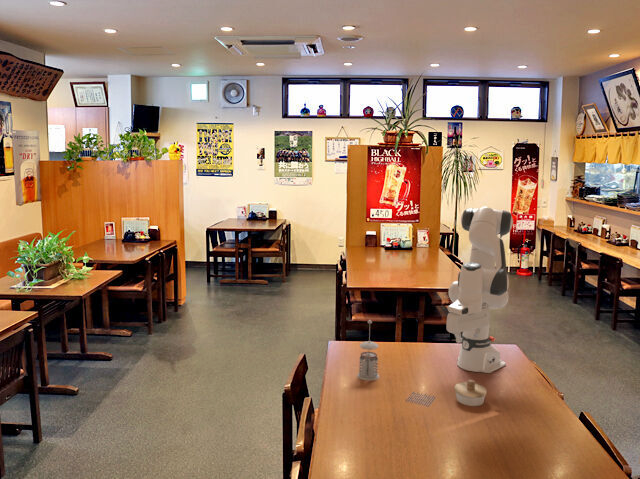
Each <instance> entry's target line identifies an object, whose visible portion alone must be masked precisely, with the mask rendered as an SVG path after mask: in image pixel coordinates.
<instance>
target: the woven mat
mask: <svg viewBox="0 0 640 479" xmlns="http://www.w3.org/2000/svg"><path fill="white" fill-rule="evenodd" d="M435 399H436V397H435V396H434V395H433V396H431V395H427V394H423V393H421V394H420V393H417V392H415V391H413V392H412V393H411V394H409V397H408V398H406V402H407V403H411V404H416V405H420V406H425V407H430V405H431V404H432V403H433V402H434V400H435Z"/></svg>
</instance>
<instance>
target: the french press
mask: <svg viewBox="0 0 640 479" xmlns="http://www.w3.org/2000/svg"><path fill="white" fill-rule="evenodd" d="M367 324H373V320H371V319H369V320H367ZM368 331H369V333H368V335H369V337H368V341H364V342H361V343H360V344H359V347H360V348H361V349H363V350H368V351H362V352H361V353H360V356H359V365H358V368H359V369H358V371H359V372H358V373H357V374H356V377H357V378H358V379H360V380H362V381H367V382H368V381H371V382H372V381H377V380H379V379H380V375H379V374H378V365H379V358H378V357H377V356H378V354H377V353H376V352H373V350H377V349H378V348H379V344H378V343H376V342H375V341H371V339H370V337H371V325H369V329H368Z"/></svg>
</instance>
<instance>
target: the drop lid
mask: <svg viewBox="0 0 640 479" xmlns="http://www.w3.org/2000/svg"><path fill="white" fill-rule="evenodd" d="M487 390H488V389H487V388H486V387H485V386H483V385H481V384H478V383H476V381H475V380H474V379H473V380H472V379H468V380H466V382H459V383H456V384H455V385H454V392H455V391H456V392H457V393H458V394H460V395H463V396H466V397H472V398H478V397H483V396H485V395H486V396H487V395H488V394H487V392H488V391H487ZM456 392H455V393H456ZM486 396H485V397H486Z"/></svg>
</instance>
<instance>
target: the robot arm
mask: <svg viewBox="0 0 640 479" xmlns="http://www.w3.org/2000/svg"><path fill="white" fill-rule="evenodd" d="M460 225H461V228H462V229H463V230H464V231H467V232H468V240H469V242H470V244H471V250H470V256H469V262H465V263H463V264H462V265H461V268H460V272H458V274H457V280H455V281H453V282H452V283H450V286H449V287H448V296H449V299H450V301H451V302H452V303H451V304H450V305H448V306H447V311H448V313H447V316H446V331H447V332H448V333H451V334H453V335H454V337H455V342H456V343H458V344H460V343H461V344H460V348H459V354H458V357H457V363H456V364H457V366H458V367H459V368H461V369H462V370H464V371H468V372H469V371H470V372H476V373H486V374H490V373H493V372H494V371H496V370H498V369H500V368H504V367H505V366H506V362H505V361H504V360H502V359H501V353H500V351H499V350H498V349H497V348H496V347H495V346H494V345H492V344H491V342H495V340H496V338H495V337H494V336H491V335H490V336H489V328H490V323H491V318H490V317H491V313H490V309H492V310H493V309H503V308H504V307H505V306H506V305H507V304H508V301H509V296H510V295H509V291H508V289H509V287H510V279H509V275H508V272H507V260H506V259H507V258H506V251H505V244H504V241H503V239H502V237H504V236H505V235H508V233H510V231H511V230H512V227H513V225H514V218H513V216H512V213H511V212H510V211H507V210H501V209H500V210H499V209H496V208H491V207H489V206H482V207H479V208H474V207H469V208H466V209H464V210H463V212H462V214H461V217H460ZM499 235H500V236H499Z"/></svg>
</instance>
